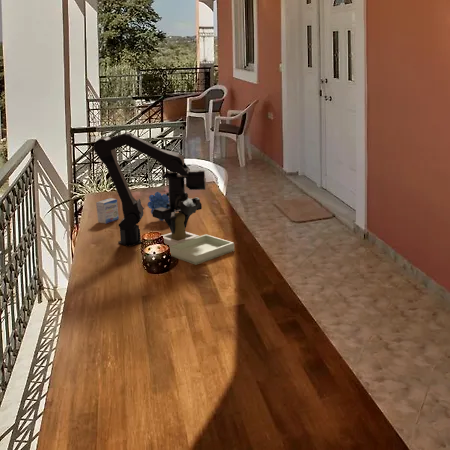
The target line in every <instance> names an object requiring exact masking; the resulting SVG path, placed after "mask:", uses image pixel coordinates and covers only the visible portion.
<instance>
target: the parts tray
mask: <svg viewBox="0 0 450 450" xmlns="http://www.w3.org/2000/svg"><path fill="white" fill-rule="evenodd" d="M169 247H170V252H171V256H170V257H173V258H175V259H177V260H180V261H184V262H187V263H188V264H189V263H190V264H193V265H195V266H196V265H200V264H202V263H205V262H208V261H211V260H213V259H216V258H219V257H222V256H223V255H228V254H230V253H233V252H235V242H232V241H230V240H226V239H223V238H219V237H217V236H213V235H210V234H207V233H206V234H202V235H199V237H196V238H193V239H190V240H187V241H184V242H181V243H177V244H174V245H171V246H169ZM232 251H233V252H232Z"/></svg>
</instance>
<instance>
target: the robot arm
mask: <svg viewBox="0 0 450 450" xmlns="http://www.w3.org/2000/svg"><path fill="white" fill-rule="evenodd" d="M123 146H127V147H130V148H131V149H133V150H136V151H137V152H139V153H142V154H144V155H145V156H148V157H149V158H152V159H153V160H155V161H157V162H158V163H159V164H160V165H161V166H163V167H164V168H165V169H166V171H165V173H164V174H163V175H162V176H161V177H162V179H167V183H168V184H167V189H168V192H166V193H165V194H166V195H167V196H168V197H169V200H168V201H169V204H167V207H170V208H169V209H167V208H163V207H160V208H156V209H154V210H153V212H152V214H153V215H152V214H151V215H152V218H156V219H158V218H159V219H164V220H163V221H164V222H166V224H167V226H168V229H170V231H171V232H172V233H173V234H175V220H176V218H177V217H176V216H174V213H183V214H184V215H185V221H184V226H185V229H187V225H188V222H189V219H190V217H191V216H192V215H193V214H195V213H196V212H197V211H199V210H202V208H203V207H202V203H201V200H200V198H199V197H194V198H190V197H189V194H188V192H186V188H187V189H189V190H190V191H204V190H205V191H206V188H207V187H206V186H207V178H206V173H205V170H204V169H201V170H191V169H190V168H189V166H188V165H187V164H186V163H185V158H184V156H183V155H182V154H180V153H178V152H176V151H175V152H174V151H171V150H166V149H163V148H160V147H158V146H156V145H154V144H153V143H150V142H148V141H146V140H144V139H142V137H141V138H140V137H138V136H136V135H134V134H133V133H132V132H130V131H126V132H123V133H122V134H118V135H113V136H111V137H109V136H102V137H100V138H99V139H97V140H96V141H95V142H94V144H93V151H94V152H95V154H96V156H97V157H98V159H99V160H100V161H101V162H102V163H103V165H105V167H106V170H107V172H108V174H109V176H110V178H111V180H112V184H113V185H114V188H115V190H116V192H117V195H118V197H119V200H120V202H121V208H122V214H123V218H122V220H121V221H120V222H119V224H118V228H119V236H120V237H119V238H120V240H118V241H117V242H118V244H121V245H123V246H126V247H132V246H135V245H139V244H142V243H141V241H142V240H141V229H140V225H138V224H139V223H140V221H142V218H143V216H144V209H145V207H144V206H143V205H142V201H141V199H140V198H138V199H137V200H136V199H135V197H134V196H133V193H132V191H131V189H130V187H129V185H128V181H127V180H126V178H125V175H124V173H123V171H122V168H121V166H120V164H119V161H118V157H117V156H118V155H117V150H116V149H119V148H121V147H123ZM185 187H186V188H185ZM159 219H158V220H159ZM171 232H170V233H171Z"/></svg>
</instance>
